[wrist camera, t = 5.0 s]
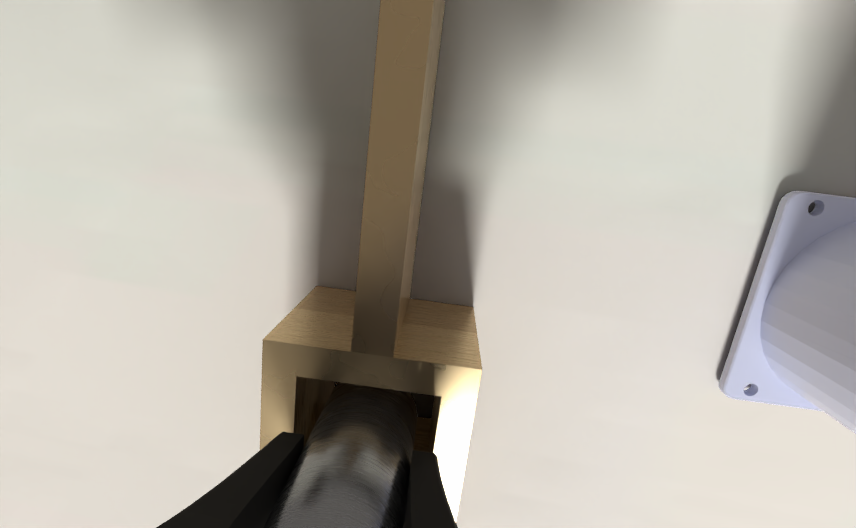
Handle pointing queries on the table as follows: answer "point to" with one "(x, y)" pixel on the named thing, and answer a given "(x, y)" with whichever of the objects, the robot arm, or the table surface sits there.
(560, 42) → the table surface
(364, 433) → the pin
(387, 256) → the tan wooden bar
